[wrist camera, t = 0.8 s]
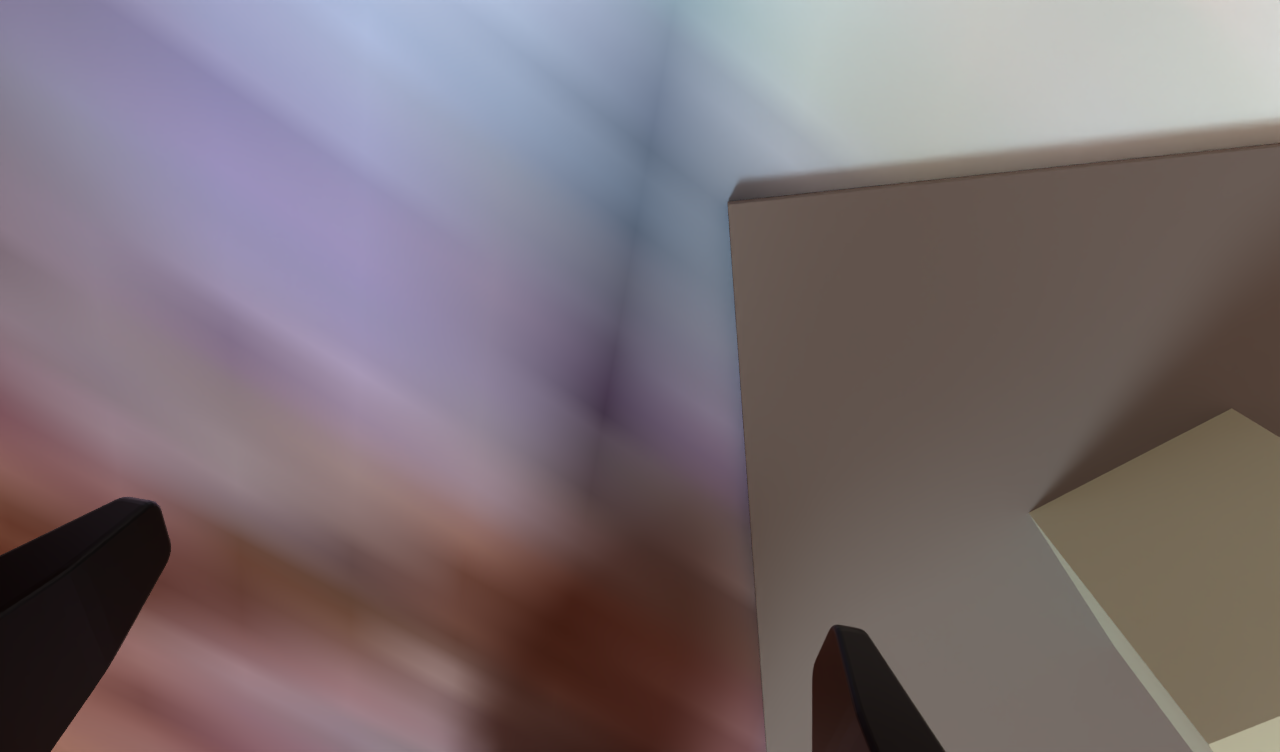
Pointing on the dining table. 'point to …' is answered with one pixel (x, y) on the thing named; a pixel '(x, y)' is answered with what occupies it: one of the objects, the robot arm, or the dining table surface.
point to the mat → (985, 419)
